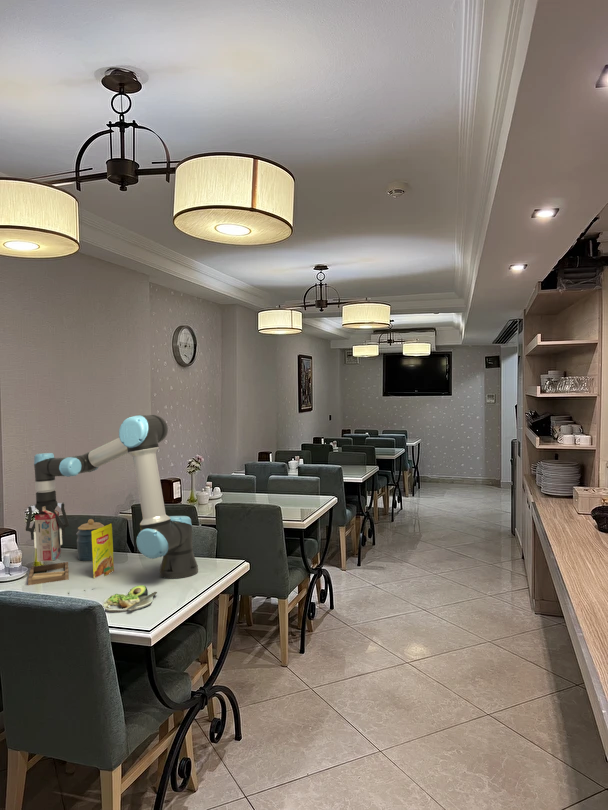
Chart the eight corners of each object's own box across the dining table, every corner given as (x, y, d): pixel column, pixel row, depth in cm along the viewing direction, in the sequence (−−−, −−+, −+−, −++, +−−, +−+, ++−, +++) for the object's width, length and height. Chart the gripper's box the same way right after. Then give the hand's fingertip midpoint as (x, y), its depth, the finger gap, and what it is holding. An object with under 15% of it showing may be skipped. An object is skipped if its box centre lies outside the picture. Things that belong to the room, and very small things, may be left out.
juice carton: (61, 556, 245) (58, 503, 245) (52, 561, 238) (49, 506, 238) (46, 557, 246) (43, 504, 246) (37, 561, 239) (34, 507, 239)
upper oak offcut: (62, 579, 232) (61, 574, 232) (32, 582, 230) (32, 577, 230) (64, 576, 237) (64, 571, 237) (35, 578, 235) (35, 573, 235)
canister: (78, 555, 275) (76, 518, 275) (107, 552, 279) (105, 515, 279) (76, 562, 263) (74, 523, 263) (107, 559, 267) (105, 520, 267)
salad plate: (155, 612, 194) (154, 598, 194) (98, 618, 191) (97, 604, 191) (158, 594, 213) (157, 581, 213) (106, 599, 210) (105, 586, 210)
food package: (95, 582, 231) (92, 531, 231) (92, 582, 231) (90, 531, 231) (115, 571, 246) (112, 523, 246) (112, 570, 246) (110, 523, 246)
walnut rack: (68, 583, 231) (68, 574, 231) (28, 588, 226) (28, 579, 226) (68, 570, 251) (68, 561, 251) (31, 575, 245) (30, 566, 245)
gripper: (73, 487, 250) (76, 540, 250) (17, 492, 241) (20, 547, 241) (74, 489, 243) (77, 544, 243) (15, 494, 234) (18, 551, 234)
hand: (48, 545), depth 242 cm, fingers closed on juice carton, 9 cm apart
